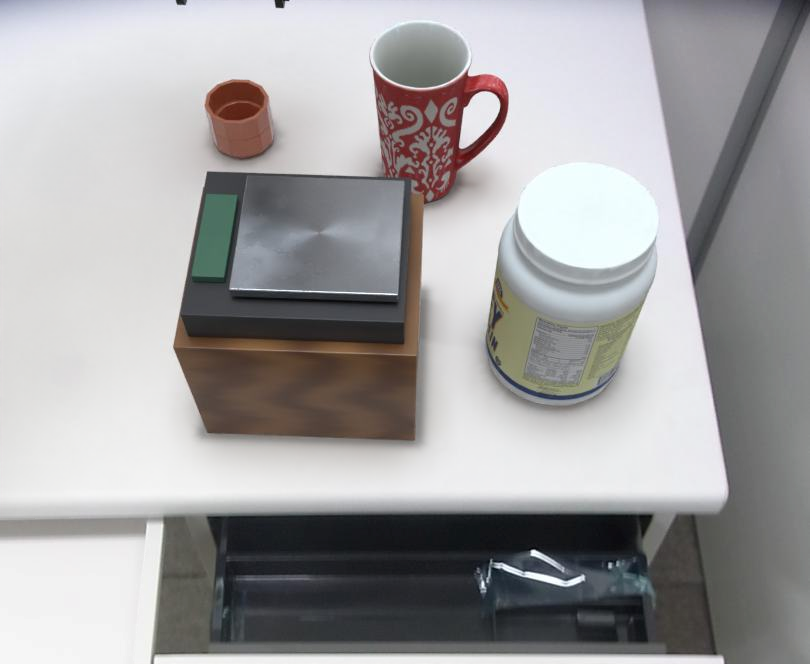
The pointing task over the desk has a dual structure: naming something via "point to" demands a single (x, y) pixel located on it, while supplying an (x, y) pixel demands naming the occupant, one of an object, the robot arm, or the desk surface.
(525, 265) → the supplement tub
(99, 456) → the desk surface
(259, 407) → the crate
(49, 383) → the desk surface
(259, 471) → the desk surface
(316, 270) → the scale pan
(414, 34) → the mug
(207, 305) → the scale
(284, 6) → the robot arm
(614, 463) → the desk surface
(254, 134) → the bowl
